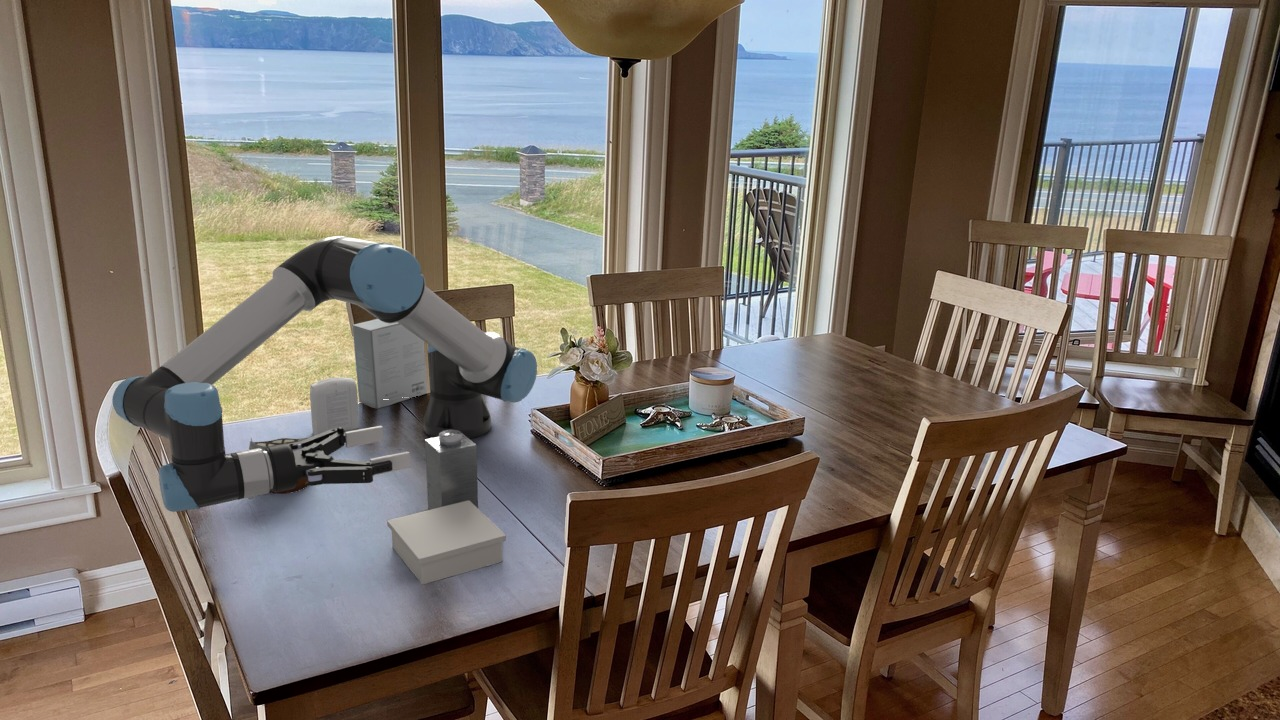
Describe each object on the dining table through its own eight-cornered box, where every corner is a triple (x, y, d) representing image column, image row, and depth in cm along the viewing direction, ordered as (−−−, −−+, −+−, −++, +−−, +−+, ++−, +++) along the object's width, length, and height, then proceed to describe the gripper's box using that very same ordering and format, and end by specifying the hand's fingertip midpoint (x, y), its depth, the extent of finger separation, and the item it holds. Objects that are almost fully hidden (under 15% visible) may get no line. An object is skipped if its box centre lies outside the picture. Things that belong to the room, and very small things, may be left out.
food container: (249, 499, 172) (243, 450, 169) (253, 485, 178) (248, 438, 175) (318, 493, 175) (314, 445, 172) (320, 479, 181) (316, 433, 178)
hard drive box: (409, 387, 234) (405, 311, 228) (428, 394, 230) (424, 317, 223) (357, 402, 223) (351, 323, 217) (375, 410, 218) (370, 329, 212)
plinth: (469, 525, 165) (469, 500, 163) (506, 561, 153) (505, 535, 152) (388, 546, 157) (387, 520, 155) (420, 586, 145) (419, 559, 144)
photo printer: (356, 423, 210) (352, 372, 206) (362, 429, 206) (358, 377, 203) (310, 431, 204) (305, 379, 201) (315, 438, 201) (311, 385, 197)
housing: (463, 500, 174) (460, 424, 170) (478, 514, 169) (476, 436, 164) (428, 508, 171) (424, 431, 166) (442, 523, 165) (439, 444, 160)
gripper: (252, 464, 159) (373, 442, 170) (288, 522, 139) (422, 492, 151) (248, 424, 157) (371, 404, 168) (284, 477, 137) (420, 450, 148)
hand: (395, 445), depth 159 cm, fingers open, 13 cm apart
